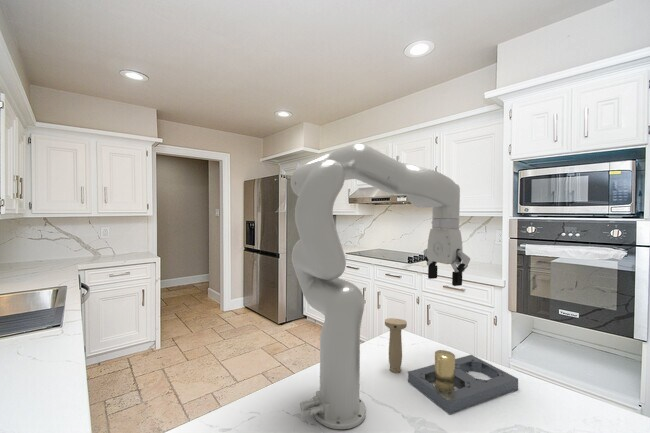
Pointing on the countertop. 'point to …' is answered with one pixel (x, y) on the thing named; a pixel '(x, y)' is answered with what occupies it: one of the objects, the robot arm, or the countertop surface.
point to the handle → (395, 342)
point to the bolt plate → (464, 384)
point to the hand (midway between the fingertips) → (444, 281)
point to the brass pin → (445, 370)
